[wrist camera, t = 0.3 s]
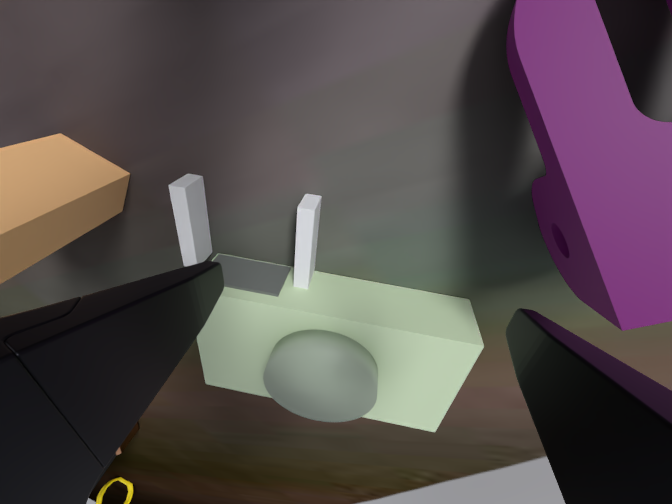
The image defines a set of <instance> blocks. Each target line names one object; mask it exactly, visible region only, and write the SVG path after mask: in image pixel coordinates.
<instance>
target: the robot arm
mask: <svg viewBox="0 0 672 504" xmlns="http://www.w3.org/2000/svg"><path fill="white" fill-rule="evenodd" d="M223 289H224V277H223V271H222V266H221V264H220V263H219V262H214V261H205V262H201V263H198V264H194V265H191V266H187V267H184V268H180V269H177V270H173V271H170V272H166V273H163V274H159V275H156V276H152V277H148V278H145V279H141V280H138V281H134V282H131V283H127V284H124V285H120V286H117V287H113V288H110V289H106V290H103V291H99V292H96V293H92V294H89V295H85V296H83V297H82V298H81V297H77V298H73V299H70V300H66V301H62V302H59V303H55V304H51V305H48V306H44V307H40V308H37V309H33V310H29V311H25V312H21V313H17V314H13V315H9V316H5V317H1V318H0V504H86V502H87V500H88V497H89V495H90V493H91V490H92V488H93V487H94V485H95V483H96V481H97V479H98V478H99V476H100V475H101V473H102V472H103V470H104V467H106V466H107V464H108V463H109V462H110V460H111V459H112V457H113V456H114V454H115V453H116V452H117V450H118V449H119V447H120V446H121V444H122V443H123V442H124V440H125V439H126V437H127V436H128V434H129V433H130V432H131V430H132V429H133V427H134V426H135V424H136V423H137V421H138V420H139V419H140V417H141V416H142V414H143V413H144V411H145V410H146V409H147V407H148V406H149V404H150V403H151V401H152V400H153V399H154V397H155V396H156V394H157V393H158V391H159V390H160V389H161V387H162V386H163V384H164V383H165V381H166V380H167V379H168V377H169V376H170V374H171V373H172V371H173V370H174V369H175V367H176V366H177V364H178V363H179V361H180V360H181V359H182V357H183V356H184V354H185V353H186V351H187V350H188V349H189V347H190V346H191V344H192V343H193V341H194V340H195V339H196V337H197V336H198V334H199V333H200V331H201V330H202V328H203V327H204V325H205V324H206V322H207V320H208V318H209V316H210V314H211V313H212V311H213V309H214V307H215V305H216V303H217V301H218V299H219V297H220V296H221V294H222V292H223ZM506 339H507V343H508V347H509V350H510V354H511V358H512V362H513V366H514V370H515V373H516V377H517V380H518V383H519V385H520V388H521V391H522V393H523V396H524V398H525V401H526V403H527V406H528V409H529V411H530V414H531V416H532V419H533V421H534V424H535V426H536V429H537V432H538V434H539V437H540V439H541V442H542V444H543V447H544V450H545V452H546V455H547V457H548V460H549V462H550V465H551V467H552V470H553V473H554V475H555V478H556V480H557V483H558V485H559V488H560V490H561V493H562V496H563V498H564V500H565V503H566V504H672V391H671V390H669V389H667V388H666V387H664V386H662V385H661V384H659V383H657V382H655V381H654V380H652V379H650V378H649V377H647V376H645V375H643V374H642V373H640V372H638V371H637V370H635V369H633V368H631V367H630V366H628V365H626V364H625V363H623V362H621V361H619V360H618V359H616V358H614V357H613V356H611V355H609V354H607V353H606V352H604V351H602V350H601V349H599V348H597V347H595V346H594V345H592V344H590V343H589V342H587V341H585V340H583V339H582V338H580V337H578V336H577V335H575V334H573V333H571V332H570V331H568V330H566V329H565V328H563V327H561V326H559V325H558V324H556V323H554V322H553V321H551V320H549V319H547V318H546V317H544V316H542V315H541V314H539V313H537V312H535V311H533V310H528V309H522V308H520V309H517V310H516V312H515V313H514V315H513V317H512V319H511V321H510V322H509V324H508V326H507V328H506Z"/></svg>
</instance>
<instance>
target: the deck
mask: <svg viewBox="0 0 672 504" xmlns="http://www.w3.org/2000/svg"><path fill="white" fill-rule="evenodd" d="M168 186H169V191H170V197H171V202H172V207H173V212H174V217H175V222H176V228H177V233H178V238H179V243H180V248H181V254H182V259H183V264H184V266H191V265H194V264H198V263H201V262H204V261H205V260H206V259H207V258H208V257H209V256H210V254H211V253H212V244H211V236H210V228H209V221H208V213H207V205H206V197H205V189H204V181H203V176H200V175H194V174H186V175H184V176H183V177H181V178H179V179H178V180H176V181H174V182H173V183H171V184H170V185H168ZM321 197H322V196H318V195H312V194H305V196H304V197H303V199H302V201H301V202H300V204H299V206H298V207H297V226H296V245H295V265H294V267H291V266H285V265H280V264H274V263H269V262H263V261H258V260H253V259H247V258H242V257H236V256H231V255H225V254H220V253H218V254H217V255H216V256H215V257H214V258H213V259H212V261H214V262H219V263H220V264H221V266H222V271H223V277H224V289H223V292H222V294H221V296H220V297H219V299H218V301H217V303H216V305H215V307H214V309H213V311H212V313H211V314H210V316H209V318H208V320H207V322H206V324H205V325H204V327H203V328H202V330H201V331H200V333H199V334H198V336H197V342H198V347H199V352H200V357H201V363H202V368H203V373H204V378H205V383H206V384H208V385H213V386H217V387H222V388H227V389H232V390H236V391H241V392H246V393H251V394H255V395H260V396H265V397H270V398H273V399H274V400H275V401H276V402H277V403H278V404H280V405H281V406H282V407H284V408H285V409H287V410H289V411H291V412H293V413H295V414H297V415H299V416H302V417H305V418H308V419H312V420H317V421H323V422H344V421H350V420H354V419H357V418H360V417H365V418H369V419H374V420H379V421H384V422H388V423H393V424H398V425H403V426H407V427H412V428H417V429H422V430H426V431H431V432H435V431H436V430H437V428H438V426H439V424H440V423H441V421H442V419H443V417H444V416H445V414H446V412H447V410H448V409H449V407H450V405H451V403H452V402H453V400H454V398H455V396H456V395H457V393H458V391H459V389H460V388H461V386H462V384H463V382H464V381H465V379H466V377H467V375H468V374H469V372H470V370H471V368H472V367H473V365H474V363H475V361H476V360H477V358H478V356H479V354H480V353H481V351H482V349H483V347H484V344H483V341H482V338H481V335H480V331H479V328H478V325H477V322H476V319H475V316H474V312H473V309H472V306H471V303H470V300H469V299H465V298H459V297H454V296H448V295H443V294H438V293H432V292H427V291H421V290H416V289H410V288H405V287H399V286H394V285H389V284H383V283H378V282H372V281H367V280H361V279H356V278H350V277H345V276H340V275H334V274H329V273H323V272H318V271H314V270H315V260H316V249H317V239H318V229H319V218H320V208H321Z"/></svg>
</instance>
